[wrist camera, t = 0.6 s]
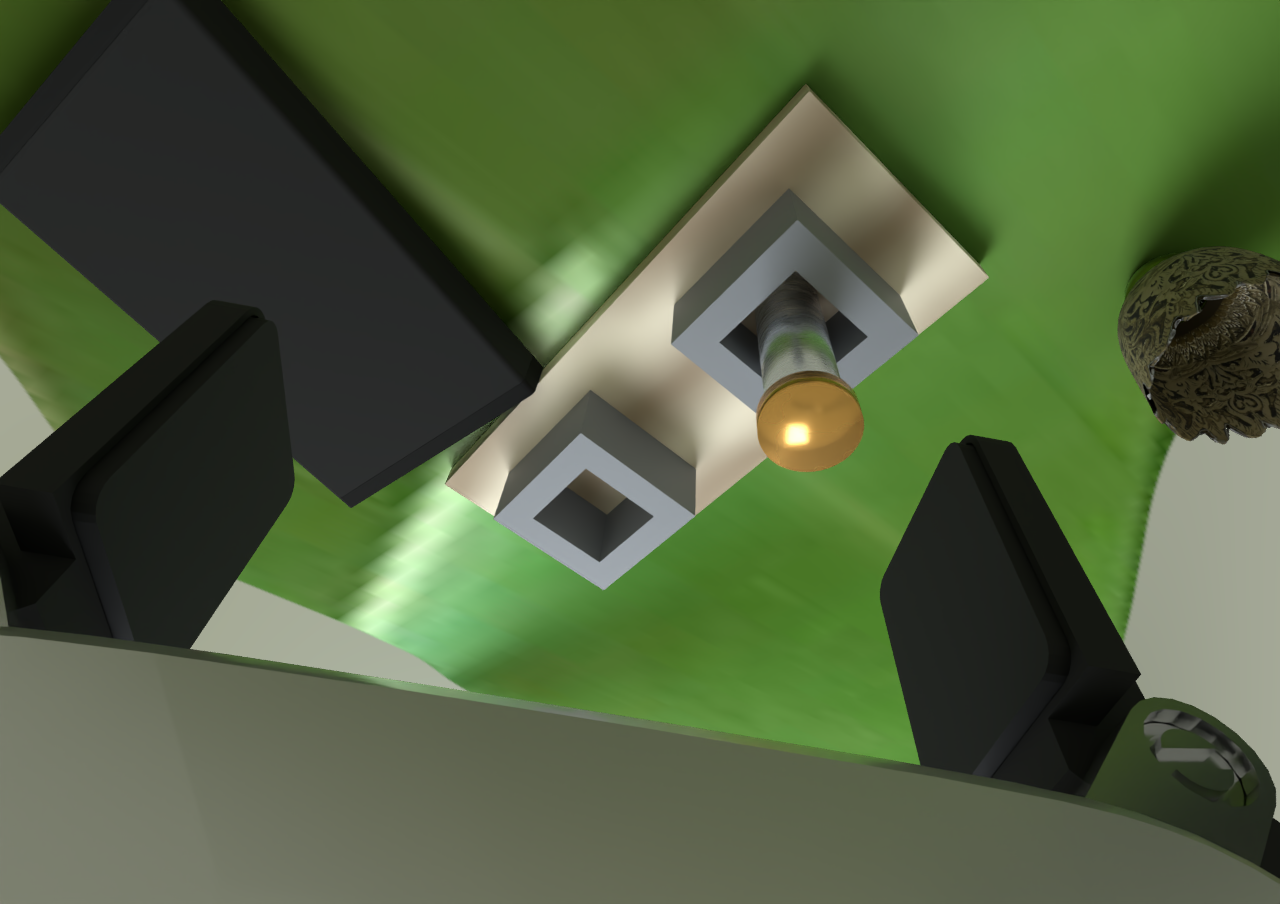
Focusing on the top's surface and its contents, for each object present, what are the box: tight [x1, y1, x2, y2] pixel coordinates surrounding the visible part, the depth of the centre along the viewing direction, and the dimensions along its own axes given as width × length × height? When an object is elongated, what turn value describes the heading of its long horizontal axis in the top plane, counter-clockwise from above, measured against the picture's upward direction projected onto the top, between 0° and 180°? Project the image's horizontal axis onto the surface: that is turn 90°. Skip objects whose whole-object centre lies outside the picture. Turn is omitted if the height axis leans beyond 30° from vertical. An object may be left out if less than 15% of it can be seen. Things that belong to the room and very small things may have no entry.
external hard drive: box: [0, 0, 543, 508], centre depth 39 cm, size 14×23×3 cm, turn 36°
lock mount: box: [671, 189, 918, 413], centre depth 36 cm, size 8×8×4 cm
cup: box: [1118, 246, 1280, 444], centre depth 34 cm, size 8×7×8 cm
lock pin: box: [754, 271, 864, 472], centre depth 33 cm, size 4×4×11 cm
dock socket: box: [493, 390, 696, 590], centre depth 43 cm, size 8×8×4 cm
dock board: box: [445, 84, 989, 516], centre depth 42 cm, size 12×28×2 cm, turn 139°
